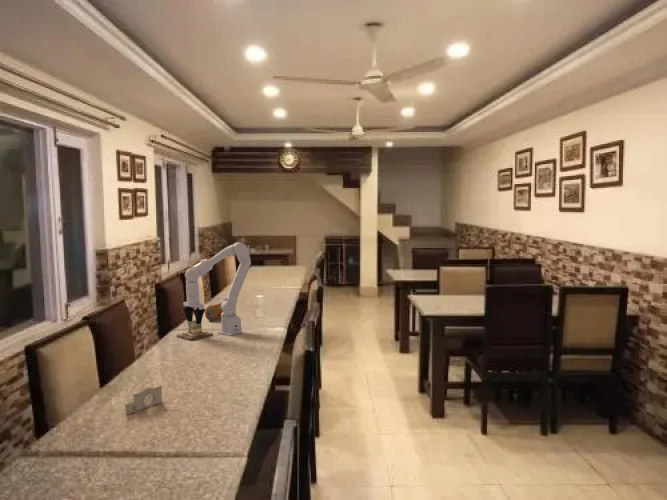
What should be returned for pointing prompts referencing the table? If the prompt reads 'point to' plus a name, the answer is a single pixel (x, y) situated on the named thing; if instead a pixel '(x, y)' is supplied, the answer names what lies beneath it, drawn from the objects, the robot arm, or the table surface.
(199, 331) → the stack
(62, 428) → the table surface
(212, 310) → the tin
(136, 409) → the garden wall model
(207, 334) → the plate
